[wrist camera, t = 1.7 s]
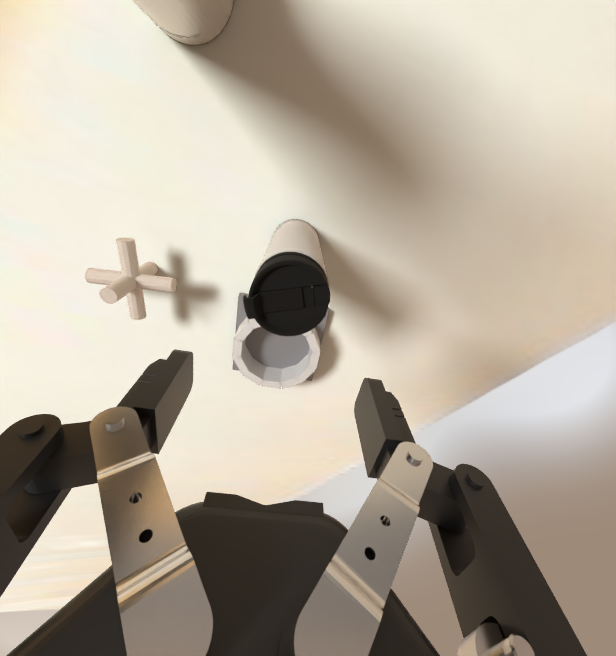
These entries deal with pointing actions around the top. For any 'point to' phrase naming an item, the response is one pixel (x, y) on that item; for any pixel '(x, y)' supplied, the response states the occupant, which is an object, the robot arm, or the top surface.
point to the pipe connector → (130, 279)
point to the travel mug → (290, 282)
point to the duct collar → (274, 352)
